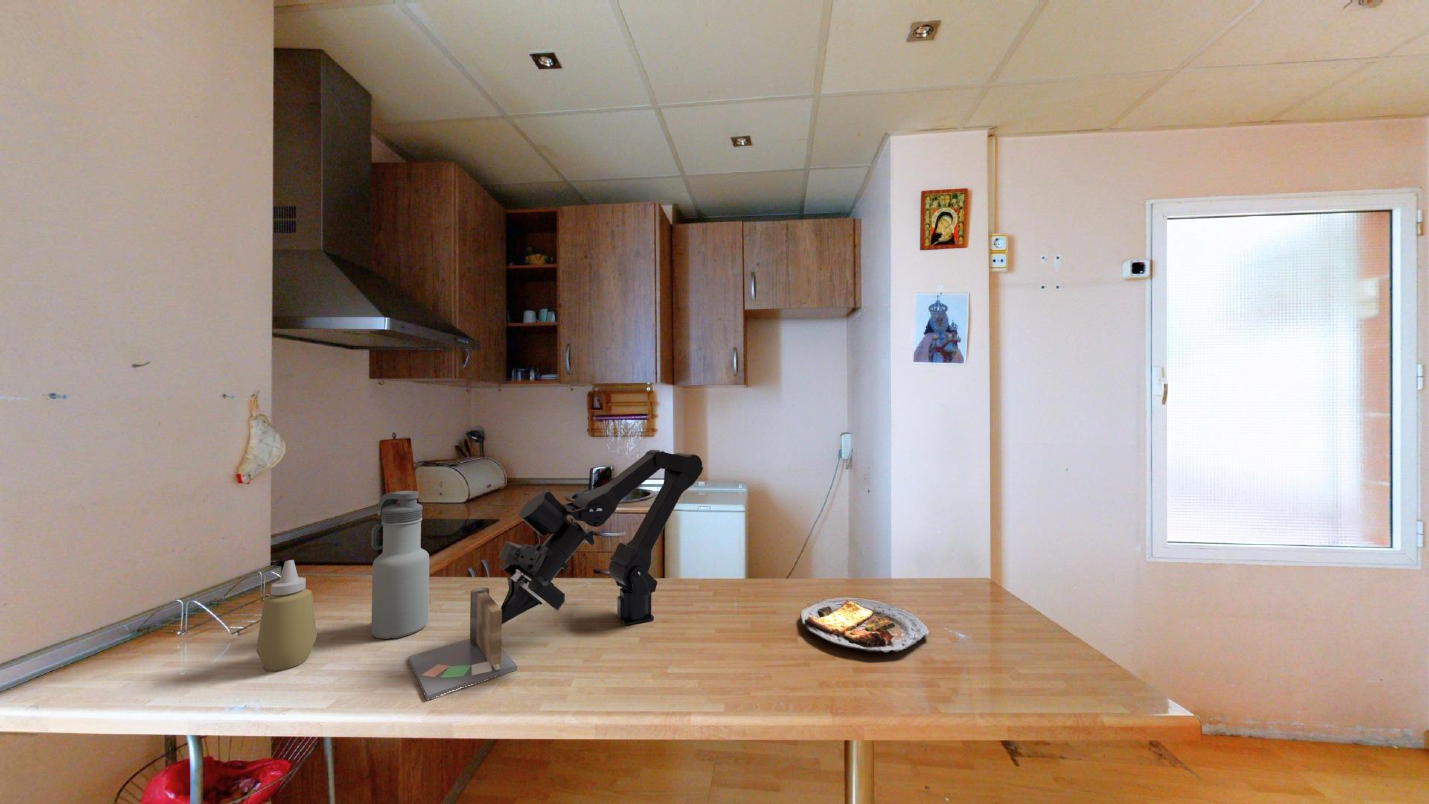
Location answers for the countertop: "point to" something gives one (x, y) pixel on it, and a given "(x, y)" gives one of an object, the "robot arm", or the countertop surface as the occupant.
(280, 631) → the squeeze bottle
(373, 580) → the water bottle
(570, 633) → the countertop surface
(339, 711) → the countertop surface
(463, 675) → the grey flat board
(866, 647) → the food plate
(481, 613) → the upright wooden block
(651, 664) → the countertop surface
